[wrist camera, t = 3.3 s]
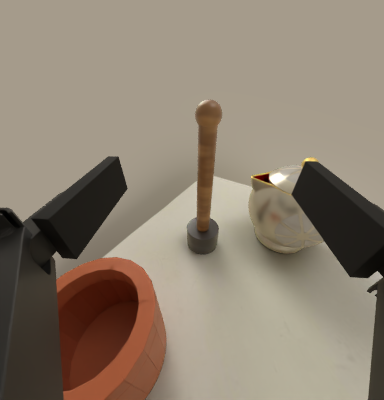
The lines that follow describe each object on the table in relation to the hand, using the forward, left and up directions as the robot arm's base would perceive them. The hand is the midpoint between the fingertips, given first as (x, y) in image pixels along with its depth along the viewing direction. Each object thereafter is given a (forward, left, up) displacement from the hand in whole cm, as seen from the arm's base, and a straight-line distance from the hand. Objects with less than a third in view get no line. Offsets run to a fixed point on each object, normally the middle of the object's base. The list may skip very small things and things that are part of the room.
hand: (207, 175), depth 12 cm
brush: (-7, +7, -20) cm, 22 cm away
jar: (-2, -11, -20) cm, 23 cm away
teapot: (+3, +20, -20) cm, 28 cm away
